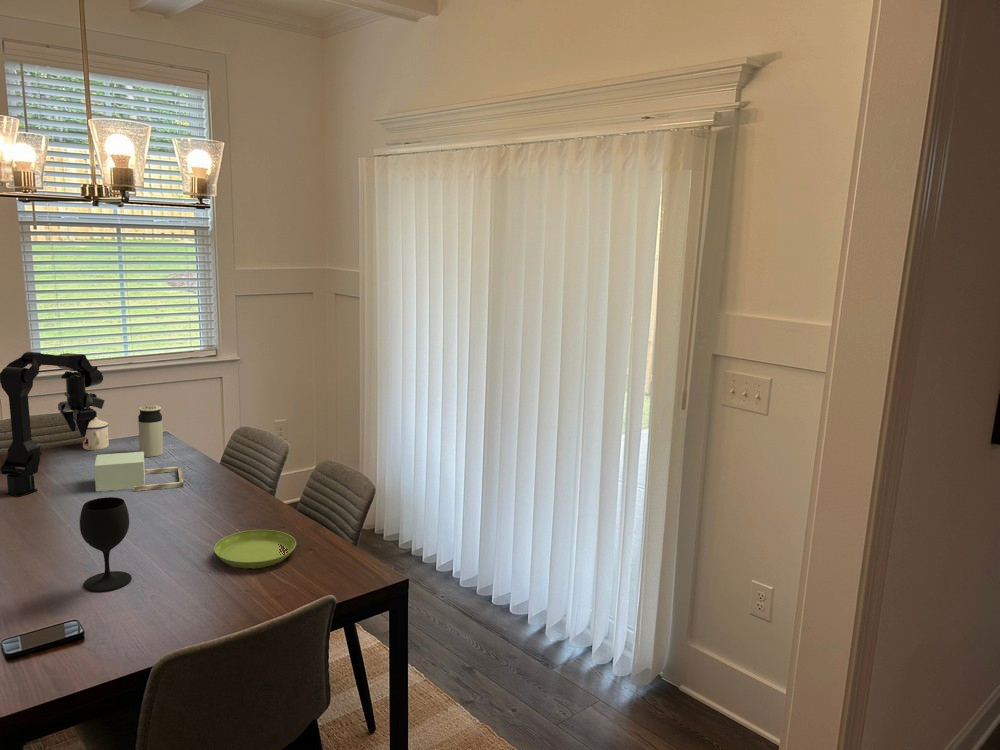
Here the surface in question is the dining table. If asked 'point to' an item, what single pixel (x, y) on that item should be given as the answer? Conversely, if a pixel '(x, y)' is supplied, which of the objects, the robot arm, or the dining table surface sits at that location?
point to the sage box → (119, 471)
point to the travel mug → (150, 431)
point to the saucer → (254, 548)
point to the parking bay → (164, 485)
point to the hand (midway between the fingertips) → (78, 434)
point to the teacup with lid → (96, 435)
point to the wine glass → (105, 538)
